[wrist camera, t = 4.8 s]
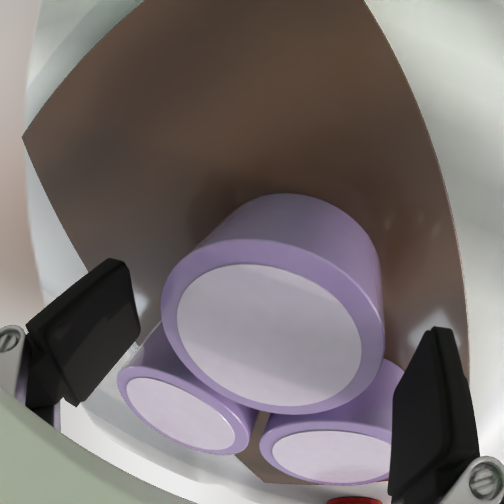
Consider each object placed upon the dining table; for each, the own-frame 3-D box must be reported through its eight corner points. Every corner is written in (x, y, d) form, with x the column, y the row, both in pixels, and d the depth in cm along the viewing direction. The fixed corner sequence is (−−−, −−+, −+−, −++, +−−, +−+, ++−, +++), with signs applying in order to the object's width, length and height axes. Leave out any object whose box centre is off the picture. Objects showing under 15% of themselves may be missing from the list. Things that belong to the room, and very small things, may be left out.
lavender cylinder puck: (132, 323, 15) (92, 367, 12) (231, 300, 12) (192, 363, 9) (195, 403, 17) (169, 448, 14) (292, 400, 14) (273, 460, 11)
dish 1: (179, 230, 12) (121, 278, 9) (343, 163, 9) (336, 198, 6) (254, 355, 14) (225, 418, 11) (399, 327, 11) (402, 403, 8)
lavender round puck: (257, 361, 14) (230, 424, 11) (400, 335, 11) (404, 410, 8) (305, 434, 16) (291, 486, 13) (418, 420, 13) (417, 479, 10)
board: (34, 132, 13) (21, 136, 12) (301, -74, 6) (296, -86, 5) (267, 473, 22) (264, 482, 21) (461, 456, 15) (461, 467, 14)
